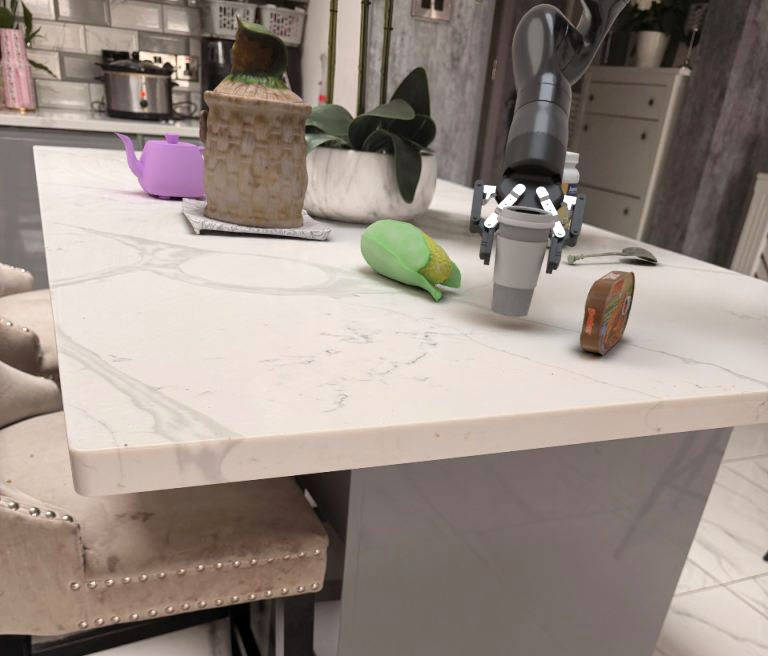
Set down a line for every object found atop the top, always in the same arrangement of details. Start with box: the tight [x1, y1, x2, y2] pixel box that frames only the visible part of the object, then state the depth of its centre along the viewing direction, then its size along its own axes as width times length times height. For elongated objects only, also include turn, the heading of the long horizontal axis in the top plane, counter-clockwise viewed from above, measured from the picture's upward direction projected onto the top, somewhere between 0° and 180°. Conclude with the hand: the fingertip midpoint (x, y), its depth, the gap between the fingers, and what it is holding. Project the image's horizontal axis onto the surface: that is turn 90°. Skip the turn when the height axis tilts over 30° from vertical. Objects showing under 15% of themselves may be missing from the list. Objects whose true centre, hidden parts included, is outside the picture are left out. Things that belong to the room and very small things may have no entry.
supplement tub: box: [547, 150, 580, 248], centre depth 150 cm, size 12×12×17 cm
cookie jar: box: [181, 14, 331, 241], centre depth 131 cm, size 25×25×32 cm
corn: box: [360, 218, 462, 302], centre depth 110 cm, size 8×8×20 cm
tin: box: [579, 270, 636, 356], centre depth 91 cm, size 15×3×8 cm, turn 151°
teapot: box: [114, 132, 206, 200], centre depth 155 cm, size 20×13×12 cm, turn 120°
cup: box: [490, 206, 555, 318], centre depth 93 cm, size 7×7×12 cm
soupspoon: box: [566, 246, 659, 265], centre depth 142 cm, size 22×3×7 cm
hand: (518, 265), depth 91 cm, fingers closed on cup, 7 cm apart
